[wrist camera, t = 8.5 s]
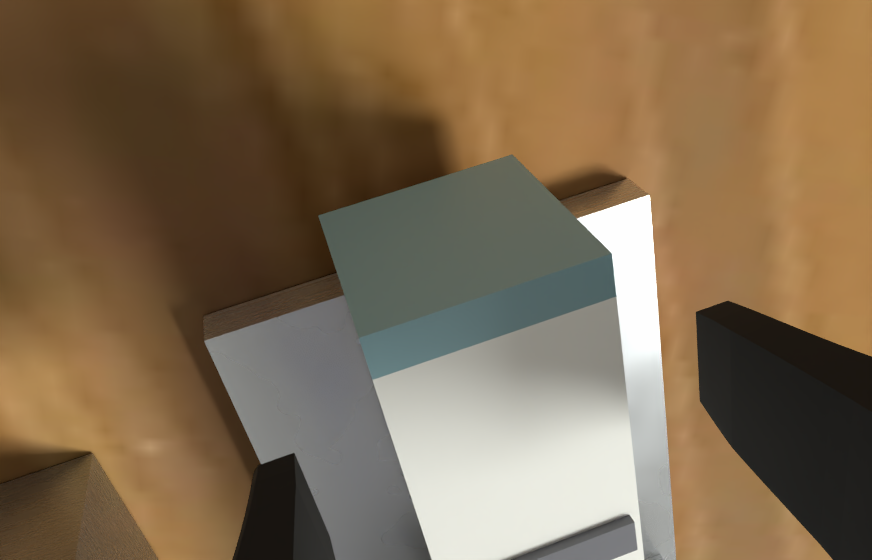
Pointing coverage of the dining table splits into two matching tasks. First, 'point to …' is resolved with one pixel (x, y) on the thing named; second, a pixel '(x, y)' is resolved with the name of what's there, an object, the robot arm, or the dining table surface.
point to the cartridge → (495, 364)
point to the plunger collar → (68, 516)
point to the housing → (361, 411)
